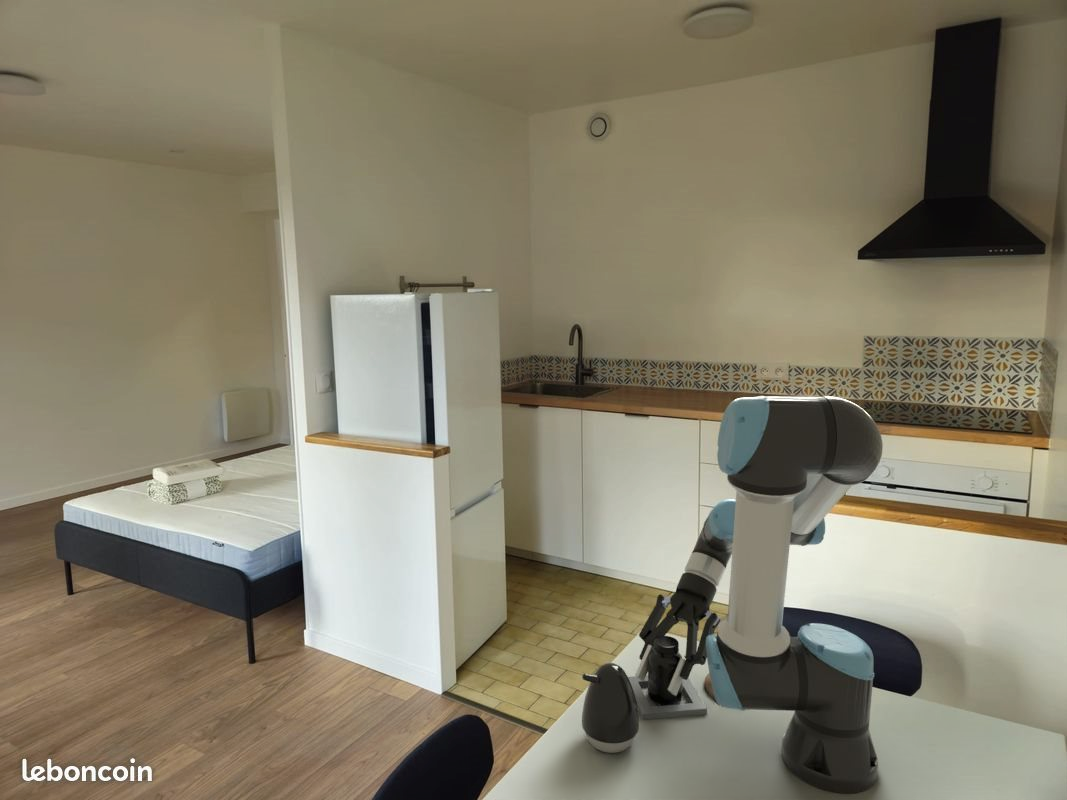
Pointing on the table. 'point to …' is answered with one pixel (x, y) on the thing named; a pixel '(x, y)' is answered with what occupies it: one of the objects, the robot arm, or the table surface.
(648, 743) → the table surface
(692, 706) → the grey flat square frame
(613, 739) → the pump dispenser
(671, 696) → the supplement bottle
